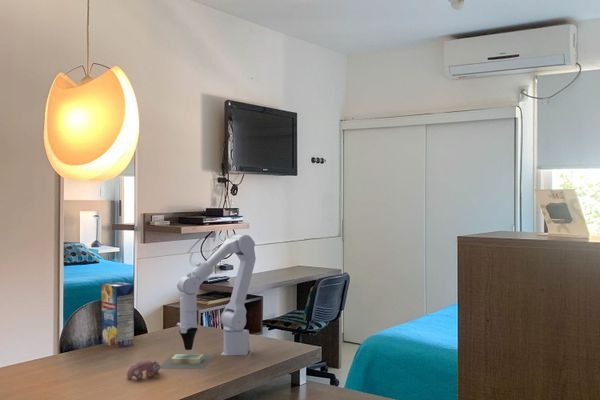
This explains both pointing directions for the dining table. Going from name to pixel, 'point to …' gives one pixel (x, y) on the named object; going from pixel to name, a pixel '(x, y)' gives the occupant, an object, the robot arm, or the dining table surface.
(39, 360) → the dining table surface
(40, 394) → the dining table surface
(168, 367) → the mat
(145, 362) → the purple toy animal
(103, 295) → the juice carton
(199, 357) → the slab
